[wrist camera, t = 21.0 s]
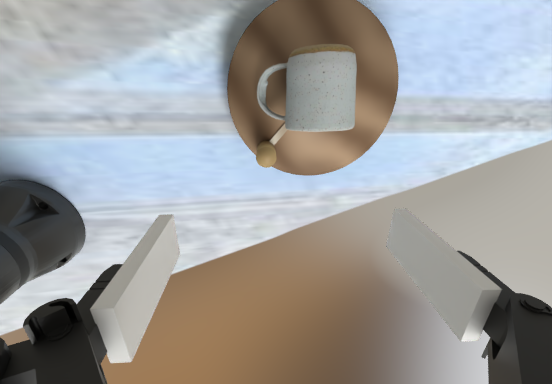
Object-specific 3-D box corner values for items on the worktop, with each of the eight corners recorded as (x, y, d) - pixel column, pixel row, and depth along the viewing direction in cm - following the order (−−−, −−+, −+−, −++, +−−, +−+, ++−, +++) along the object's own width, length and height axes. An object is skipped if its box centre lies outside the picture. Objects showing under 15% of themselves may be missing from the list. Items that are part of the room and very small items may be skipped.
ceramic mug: (345, 51, 30) (371, 39, 23) (342, 123, 33) (364, 133, 26) (254, 56, 29) (251, 45, 22) (259, 128, 33) (258, 139, 25)
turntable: (308, -55, 27) (319, -88, 22) (424, 85, 33) (454, 86, 28) (196, 102, 33) (183, 106, 28) (312, 198, 39) (319, 216, 34)
